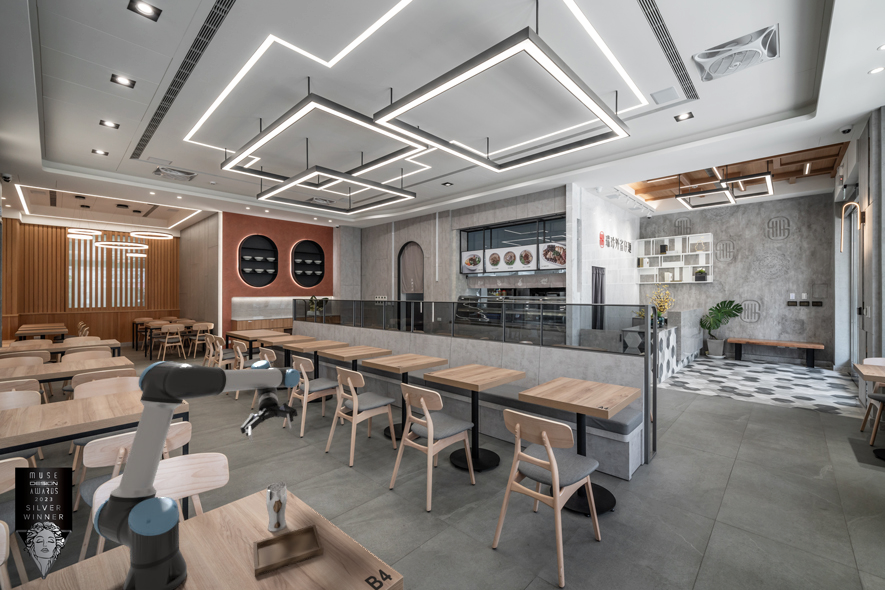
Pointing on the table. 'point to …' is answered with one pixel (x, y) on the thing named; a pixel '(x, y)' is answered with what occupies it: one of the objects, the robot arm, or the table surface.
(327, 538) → the table surface
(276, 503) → the silver metal cup
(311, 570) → the table surface
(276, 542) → the walnut tray
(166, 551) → the robot arm
